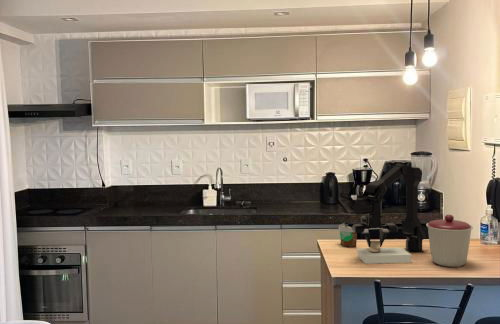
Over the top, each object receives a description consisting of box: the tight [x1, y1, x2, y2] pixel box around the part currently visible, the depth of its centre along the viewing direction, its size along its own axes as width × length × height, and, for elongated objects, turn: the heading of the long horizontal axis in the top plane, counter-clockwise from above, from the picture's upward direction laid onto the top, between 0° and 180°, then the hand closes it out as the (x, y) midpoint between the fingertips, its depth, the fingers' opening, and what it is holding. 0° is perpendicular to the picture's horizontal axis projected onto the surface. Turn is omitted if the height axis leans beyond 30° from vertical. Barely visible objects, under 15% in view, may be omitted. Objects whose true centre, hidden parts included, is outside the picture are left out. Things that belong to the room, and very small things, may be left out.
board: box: [357, 247, 412, 265], centre depth 199 cm, size 20×12×4 cm, turn 92°
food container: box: [338, 222, 358, 249], centre depth 224 cm, size 12×6×10 cm, turn 21°
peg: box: [369, 240, 381, 253], centre depth 199 cm, size 5×5×7 cm
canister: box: [425, 214, 474, 268], centre depth 190 cm, size 18×18×21 cm
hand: (374, 247), depth 199 cm, fingers closed on peg, 5 cm apart
